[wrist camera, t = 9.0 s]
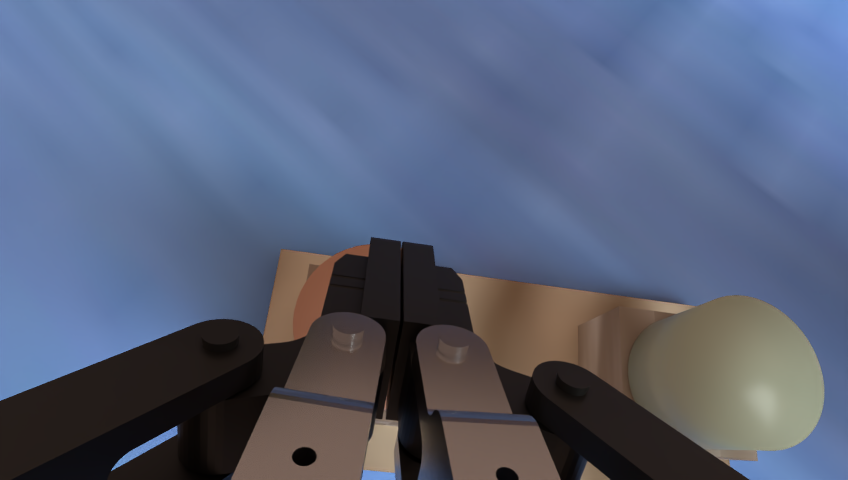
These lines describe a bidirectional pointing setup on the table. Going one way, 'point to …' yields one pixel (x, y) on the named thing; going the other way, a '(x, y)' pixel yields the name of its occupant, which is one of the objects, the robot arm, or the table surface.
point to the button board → (512, 335)
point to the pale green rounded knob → (729, 375)
